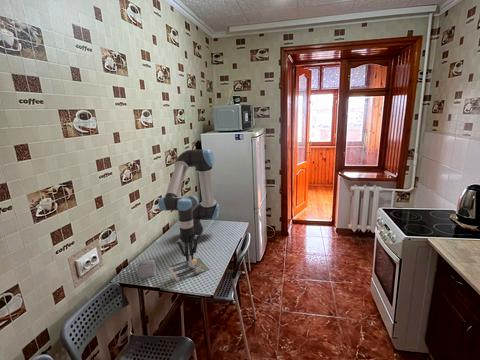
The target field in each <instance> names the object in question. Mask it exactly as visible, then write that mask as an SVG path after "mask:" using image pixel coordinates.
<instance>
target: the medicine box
mask: <svg viewBox="0 0 480 360" xmlns="http://www.w3.org/2000/svg"><path fill="white" fill-rule="evenodd" d="M137 266H138V267H137V268H138V274H139V279H151V277H154V276H155V275H156V273H157V266H156V260H155V259H145V260H144V259H143V260H140V262H139V263H138V265H137Z"/></svg>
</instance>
